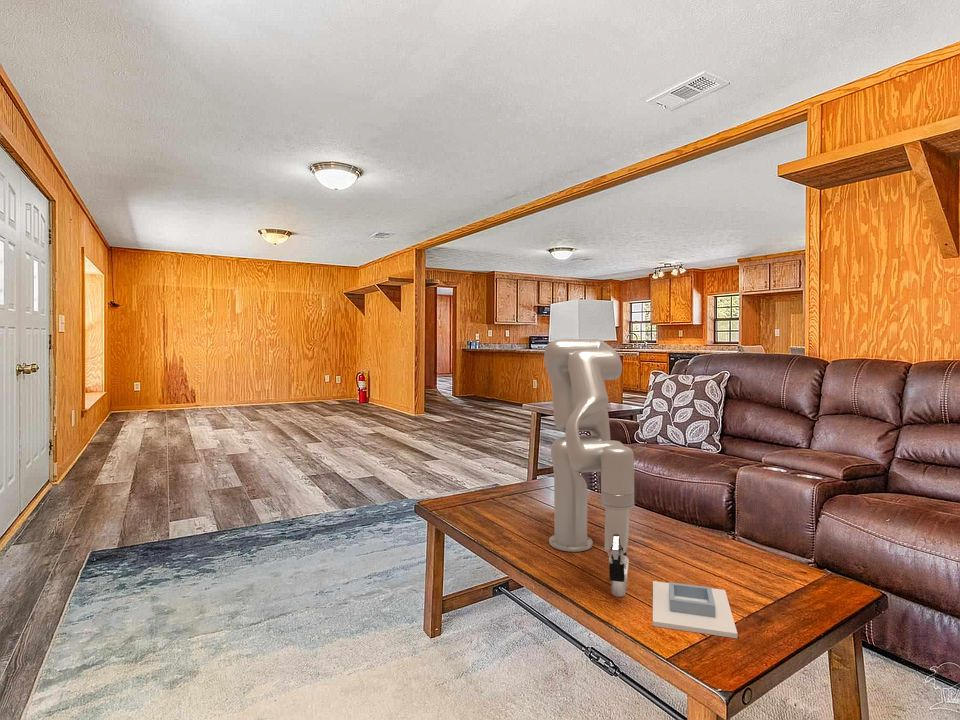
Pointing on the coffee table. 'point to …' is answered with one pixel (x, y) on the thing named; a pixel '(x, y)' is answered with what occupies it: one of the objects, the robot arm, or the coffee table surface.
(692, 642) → the coffee table surface
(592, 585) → the coffee table surface
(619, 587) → the milkshake
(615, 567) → the robot arm
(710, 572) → the coffee table surface
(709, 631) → the dock
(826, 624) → the coffee table surface
